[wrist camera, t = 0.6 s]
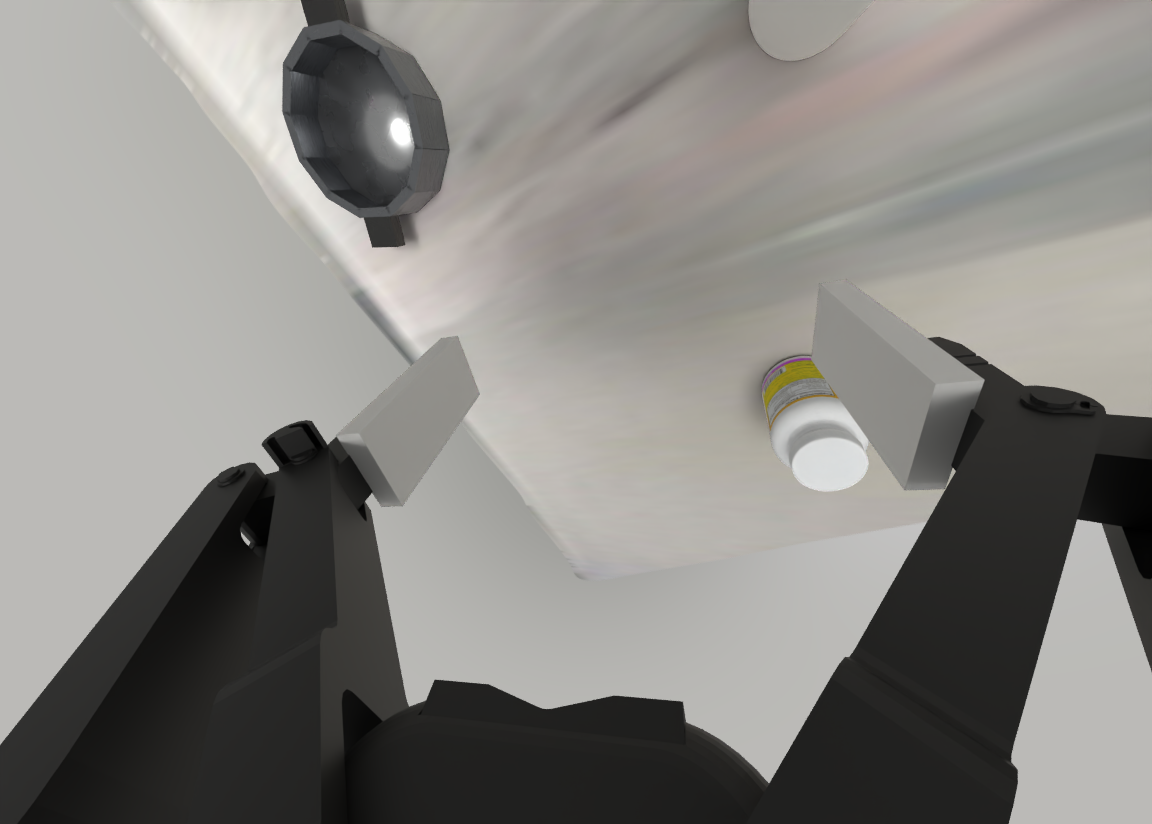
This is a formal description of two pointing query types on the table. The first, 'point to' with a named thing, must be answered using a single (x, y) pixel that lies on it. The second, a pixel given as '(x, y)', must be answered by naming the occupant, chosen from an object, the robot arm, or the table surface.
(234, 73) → the table surface
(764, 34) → the cylindrical container
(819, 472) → the supplement bottle
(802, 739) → the robot arm
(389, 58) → the cooker pot
